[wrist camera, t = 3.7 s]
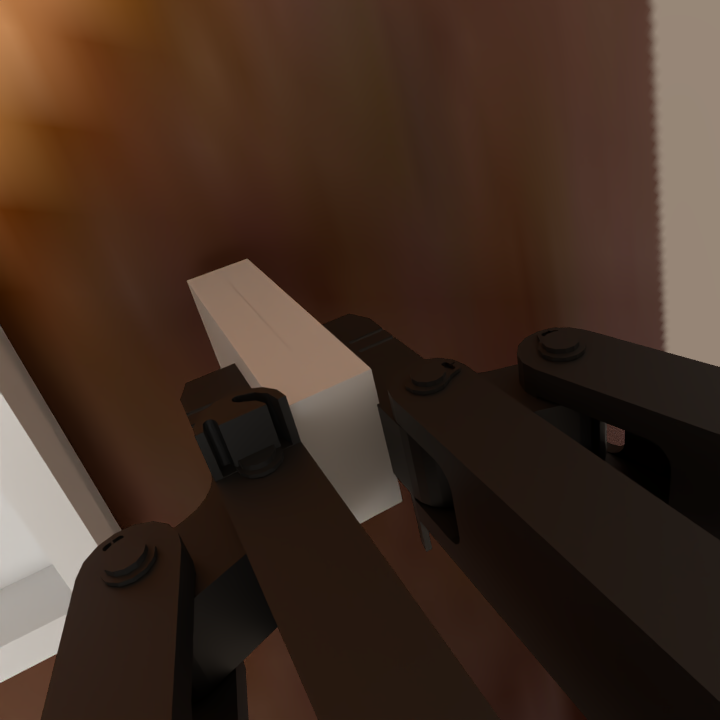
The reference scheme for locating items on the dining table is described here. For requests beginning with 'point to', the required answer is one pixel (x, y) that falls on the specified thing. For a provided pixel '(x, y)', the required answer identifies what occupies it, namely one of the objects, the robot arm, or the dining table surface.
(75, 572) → the white rectangular slab
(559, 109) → the dining table surface
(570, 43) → the dining table surface
